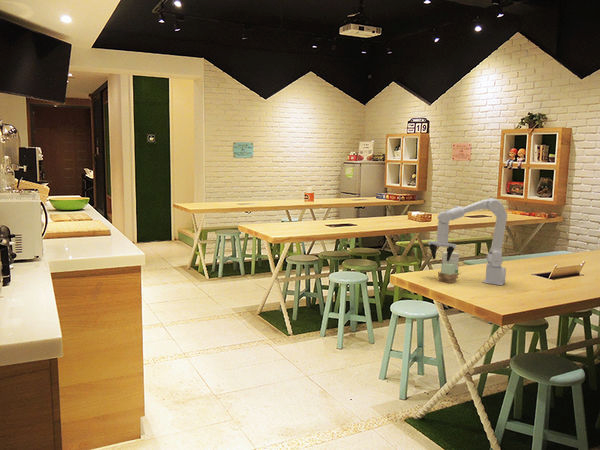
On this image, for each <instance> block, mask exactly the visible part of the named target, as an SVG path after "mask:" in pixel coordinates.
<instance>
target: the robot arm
mask: <svg viewBox="0 0 600 450" xmlns="http://www.w3.org/2000/svg"><path fill="white" fill-rule="evenodd" d="M480 209H481V210H489V211H491V212H492V213H493V215H494V216H495V217H496V219H495V225H494V231H493V235H492V240H491V246H490V248H489V252H488V254H487V255H486V260H487V263H486V269H485V279H484V280H483V281H482V283H485V284H488V285H489V284H491V285H496V286H503V285H504V284H506V274H507V268H506V267H503V266H502V264H503V257H502V255H503V251H502V250H503V249H502V248H503V242H504V235H505V232H506V225H507V221H508V220H507V219H508V213H507V211H506V209H505V207H504V204H503V202H501V201H500V200H499V199H496V198H495V197H494V198H493V197H489V198H485V199H482V200H479V201H476V202H473V203H471V204H469V205H466V206H463V207H462V206H458V205H455V206H454V207H453V208H450V209H446V210H445V211H441V212H439V213H438V216H437V220H438V222H437V233H436V240H435V241H434V240H429V241H428V242H427V245H428V246H429V247H428V248H429V249H430V252H431V255H432V260H435V259H436V257H437V248H438V247H443V248H444V247H445V248H446V252H447V261H449V260H450V257H451V254H452V252H454V250H455V249H457V244H456V243H451V242H449V231H450V226H449V225H450V221H454V220H458V219H460V218H463V217H464V216H465V214H467V213H471V212H473V211H477V210H480Z"/></svg>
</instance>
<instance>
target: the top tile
mask: <svg viewBox="0 0 600 450" xmlns="http://www.w3.org/2000/svg"><path fill="white" fill-rule="evenodd" d="M437 273H438V274H437V278H443V279H447V280H452V279H456V280H457V279H458V276H459V273H458V274H457V273H455V274H452V275H448V274H443V273H442V272H441V271H439V272H437Z"/></svg>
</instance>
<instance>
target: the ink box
mask: <svg viewBox="0 0 600 450" xmlns="http://www.w3.org/2000/svg"><path fill="white" fill-rule="evenodd" d="M441 253H442V256H441V266H440V267H441V269H440V272H442V264H443V263H452V264H456V266H455V273H457V274H458V275H459V266H460V265H459V264H460V263H459V262H460V253H459V252H454V251H453V252H452V254H451V257H450V260H449V261H447V251H442V252H441Z"/></svg>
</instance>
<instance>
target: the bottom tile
mask: <svg viewBox="0 0 600 450" xmlns="http://www.w3.org/2000/svg"><path fill="white" fill-rule="evenodd" d="M438 278H439V277H438ZM456 281H457V279H452V280H447V279H443V278H439V281H438V282H439V283H446V284H451V285H452V284H454V283H456Z"/></svg>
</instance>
